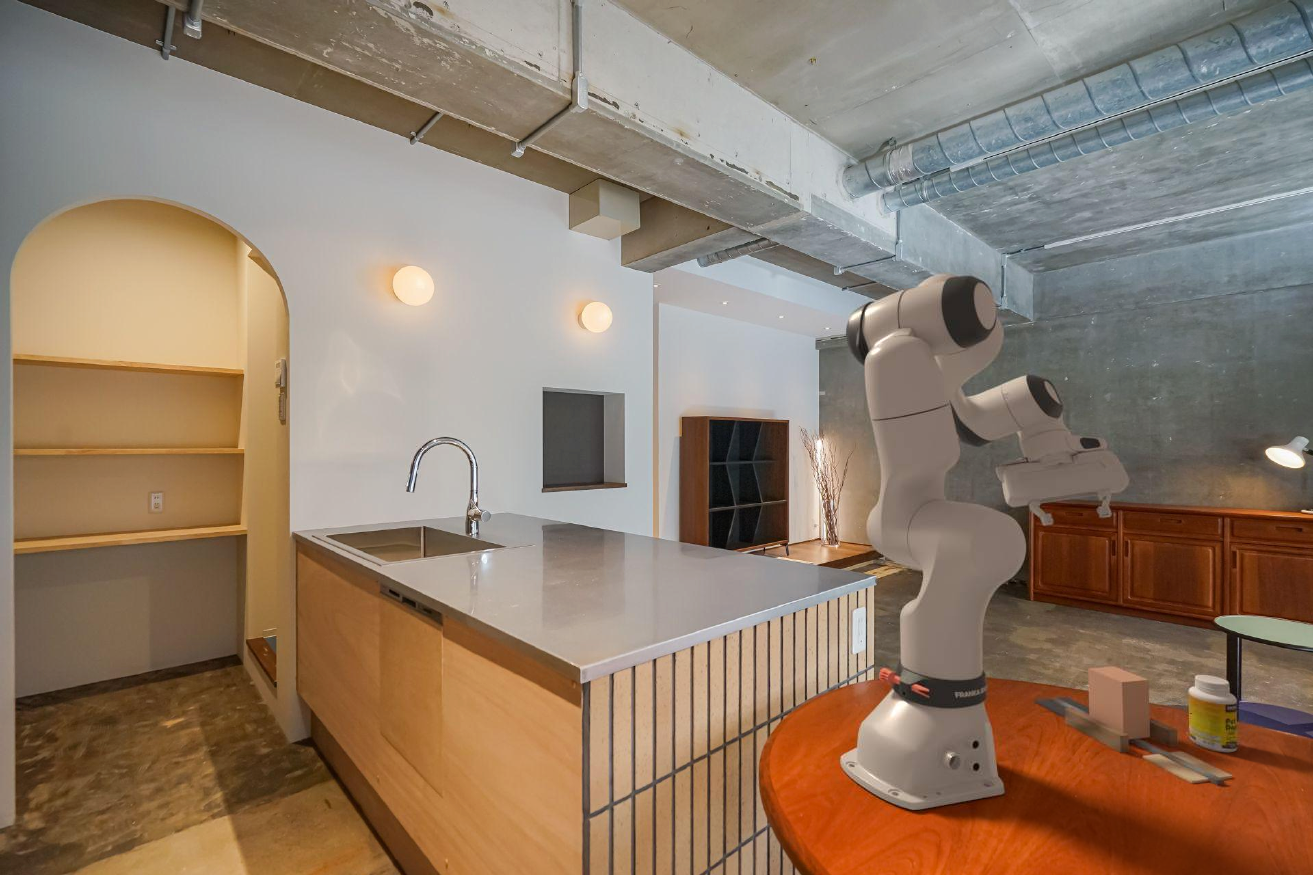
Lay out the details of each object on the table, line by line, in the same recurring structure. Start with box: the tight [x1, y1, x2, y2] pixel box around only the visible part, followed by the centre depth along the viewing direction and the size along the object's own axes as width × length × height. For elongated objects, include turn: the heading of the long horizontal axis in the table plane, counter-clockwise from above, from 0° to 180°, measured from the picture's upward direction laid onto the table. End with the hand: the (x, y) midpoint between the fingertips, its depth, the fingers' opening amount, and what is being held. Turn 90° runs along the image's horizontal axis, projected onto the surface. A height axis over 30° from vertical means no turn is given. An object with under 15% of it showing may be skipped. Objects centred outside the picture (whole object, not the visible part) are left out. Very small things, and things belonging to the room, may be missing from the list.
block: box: [1087, 665, 1151, 739], centre depth 98 cm, size 6×5×9 cm
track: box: [1049, 697, 1225, 786], centre depth 97 cm, size 28×10×2 cm, turn 10°
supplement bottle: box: [1188, 674, 1239, 753], centre depth 94 cm, size 6×6×10 cm
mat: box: [1142, 750, 1234, 784], centre depth 88 cm, size 7×7×1 cm
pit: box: [1033, 696, 1089, 718], centre depth 108 cm, size 7×7×1 cm
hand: (1077, 520), depth 112 cm, fingers open, 8 cm apart
